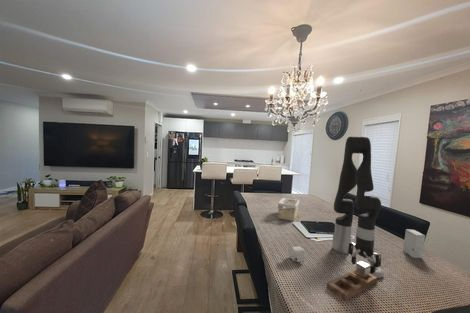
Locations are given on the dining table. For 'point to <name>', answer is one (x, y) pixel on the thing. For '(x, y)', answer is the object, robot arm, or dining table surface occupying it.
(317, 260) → the dining table surface
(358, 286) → the wooden compartment tray
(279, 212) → the storage basket
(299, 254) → the elephant figurine
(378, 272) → the donut
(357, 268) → the silver metal block
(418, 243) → the skincare box
